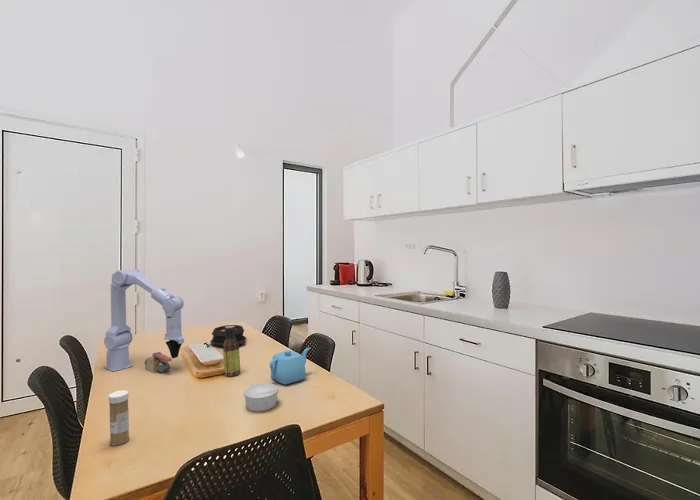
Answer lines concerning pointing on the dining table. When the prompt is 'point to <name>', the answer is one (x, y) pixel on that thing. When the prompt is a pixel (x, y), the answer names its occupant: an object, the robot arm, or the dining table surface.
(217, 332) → the casserole
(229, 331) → the sauce bottle
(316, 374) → the dining table surface
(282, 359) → the teapot
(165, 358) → the lever
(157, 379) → the dining table surface
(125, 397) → the sprinkles bottle
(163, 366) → the valve fixture
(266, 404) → the ramekin
